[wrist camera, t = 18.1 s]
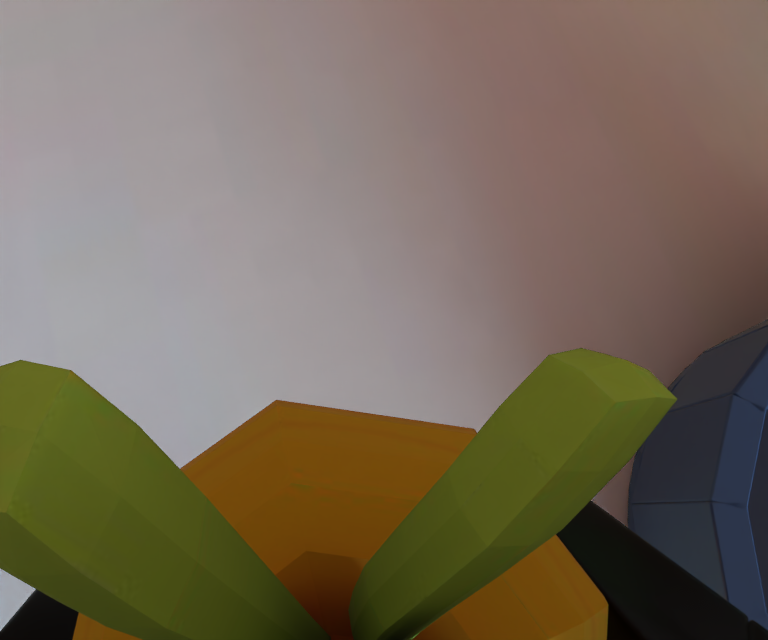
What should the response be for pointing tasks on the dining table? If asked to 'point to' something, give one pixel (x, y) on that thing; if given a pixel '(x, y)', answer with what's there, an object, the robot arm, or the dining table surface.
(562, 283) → the dining table surface
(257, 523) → the carrot
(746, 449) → the pot
